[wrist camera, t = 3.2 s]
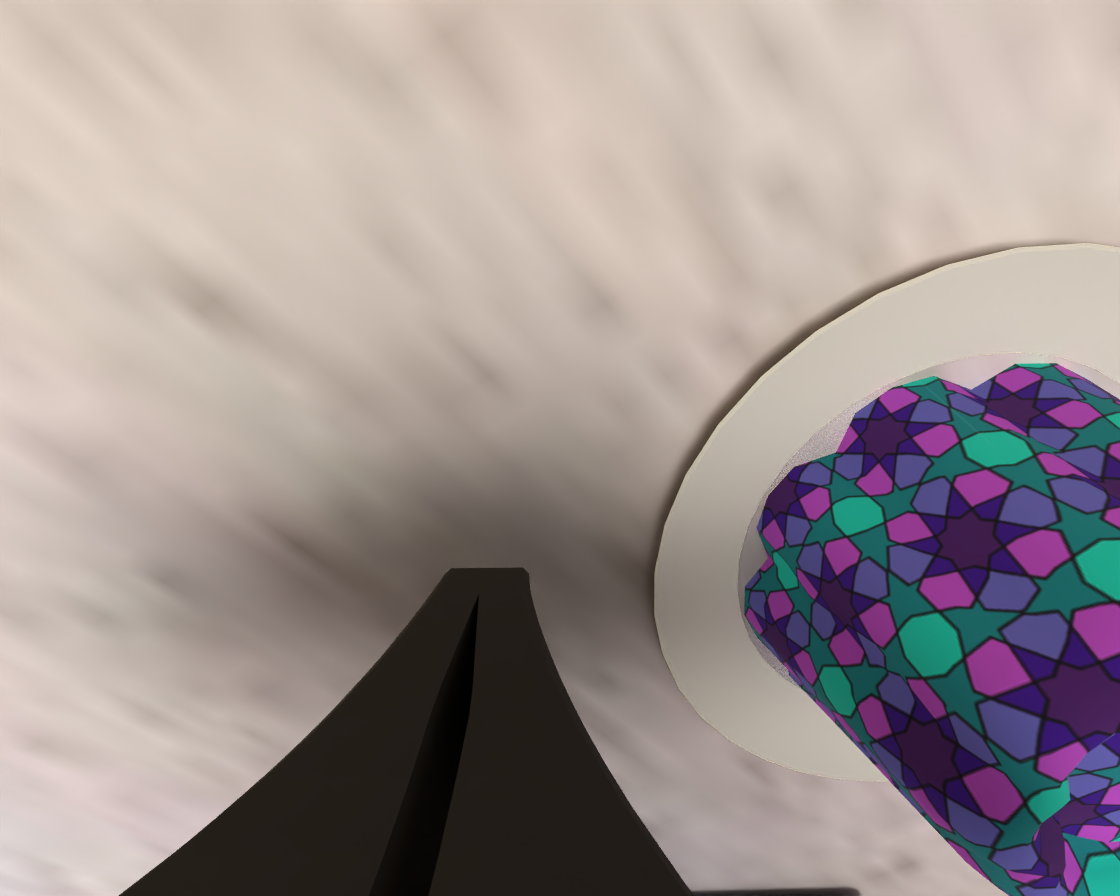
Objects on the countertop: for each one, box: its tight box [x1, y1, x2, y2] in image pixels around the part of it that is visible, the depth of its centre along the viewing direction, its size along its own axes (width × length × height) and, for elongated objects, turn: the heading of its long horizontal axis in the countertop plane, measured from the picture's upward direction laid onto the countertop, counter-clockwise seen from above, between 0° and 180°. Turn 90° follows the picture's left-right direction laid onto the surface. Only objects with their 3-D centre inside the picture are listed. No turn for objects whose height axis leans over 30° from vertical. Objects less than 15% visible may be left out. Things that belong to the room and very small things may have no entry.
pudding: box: [654, 243, 1120, 896], centre depth 9 cm, size 12×12×5 cm
